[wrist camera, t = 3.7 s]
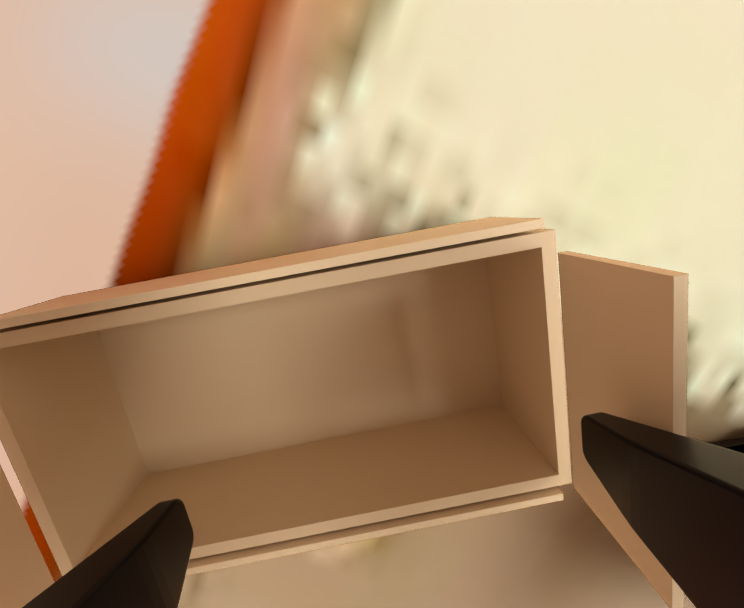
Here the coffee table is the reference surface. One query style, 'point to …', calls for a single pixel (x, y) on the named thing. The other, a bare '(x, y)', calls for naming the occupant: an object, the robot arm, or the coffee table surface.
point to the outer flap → (18, 554)
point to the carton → (296, 395)
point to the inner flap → (624, 372)
